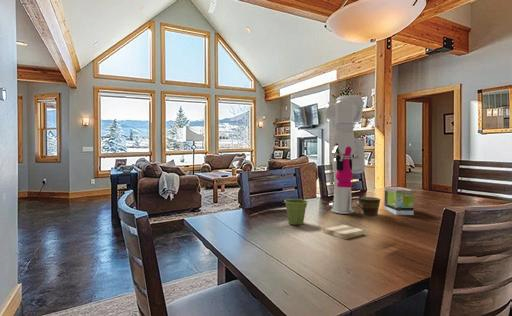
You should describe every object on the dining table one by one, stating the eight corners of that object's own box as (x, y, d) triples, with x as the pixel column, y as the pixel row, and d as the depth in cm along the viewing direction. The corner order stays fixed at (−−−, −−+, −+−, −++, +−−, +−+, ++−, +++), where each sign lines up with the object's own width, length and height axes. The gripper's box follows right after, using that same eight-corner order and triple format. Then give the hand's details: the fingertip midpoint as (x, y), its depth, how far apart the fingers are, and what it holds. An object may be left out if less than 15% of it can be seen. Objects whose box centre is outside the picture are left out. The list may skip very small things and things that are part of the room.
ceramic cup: (376, 214, 159) (376, 197, 159) (382, 218, 150) (382, 200, 149) (353, 214, 161) (353, 196, 161) (357, 218, 151) (357, 199, 151)
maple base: (323, 232, 125) (323, 227, 125) (341, 228, 131) (341, 224, 131) (345, 239, 115) (345, 234, 115) (363, 234, 121) (363, 229, 121)
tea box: (414, 217, 153) (414, 190, 153) (395, 217, 154) (395, 190, 153) (400, 211, 168) (401, 186, 168) (383, 211, 169) (383, 186, 168)
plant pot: (307, 227, 134) (307, 203, 134) (283, 225, 137) (282, 202, 136) (308, 221, 146) (308, 199, 146) (285, 220, 148) (285, 198, 148)
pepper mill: (341, 187, 119) (341, 140, 119) (332, 186, 126) (332, 141, 126) (356, 187, 121) (356, 140, 121) (346, 185, 128) (346, 141, 128)
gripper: (349, 130, 132) (349, 169, 132) (324, 128, 122) (324, 170, 122) (363, 128, 125) (363, 169, 125) (338, 126, 116) (338, 171, 116)
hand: (344, 169), depth 124 cm, fingers closed on pepper mill, 5 cm apart
